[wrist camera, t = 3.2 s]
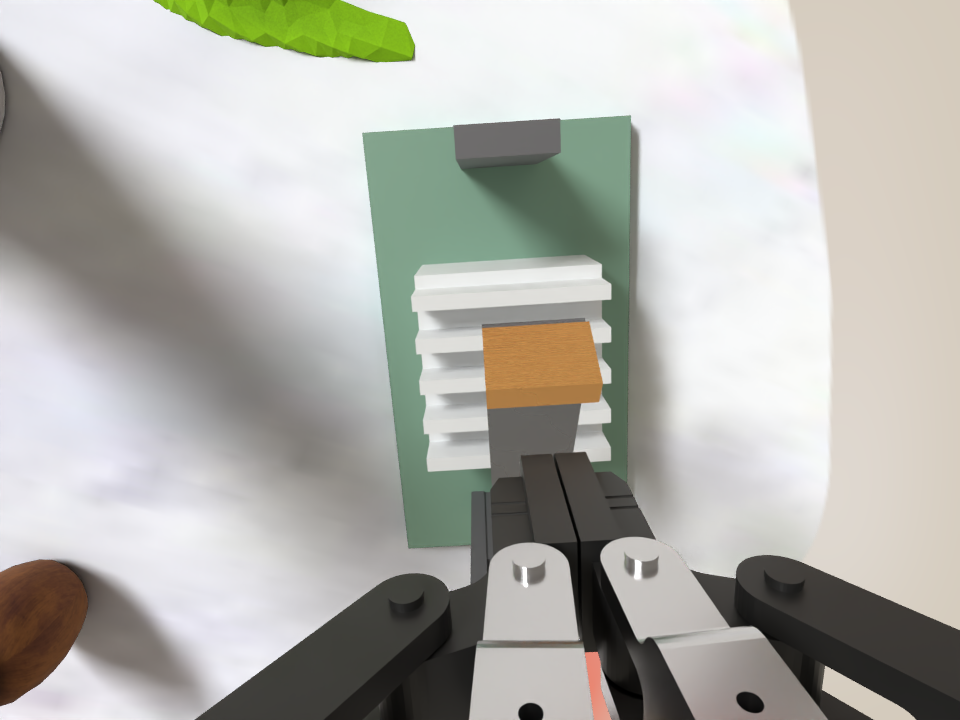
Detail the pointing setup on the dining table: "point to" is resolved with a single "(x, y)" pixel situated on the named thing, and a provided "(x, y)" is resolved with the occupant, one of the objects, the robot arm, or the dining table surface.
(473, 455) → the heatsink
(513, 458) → the wood-capped grey post
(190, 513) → the dining table surface
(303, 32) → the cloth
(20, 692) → the wooden figurine
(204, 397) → the dining table surface
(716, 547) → the dining table surface
